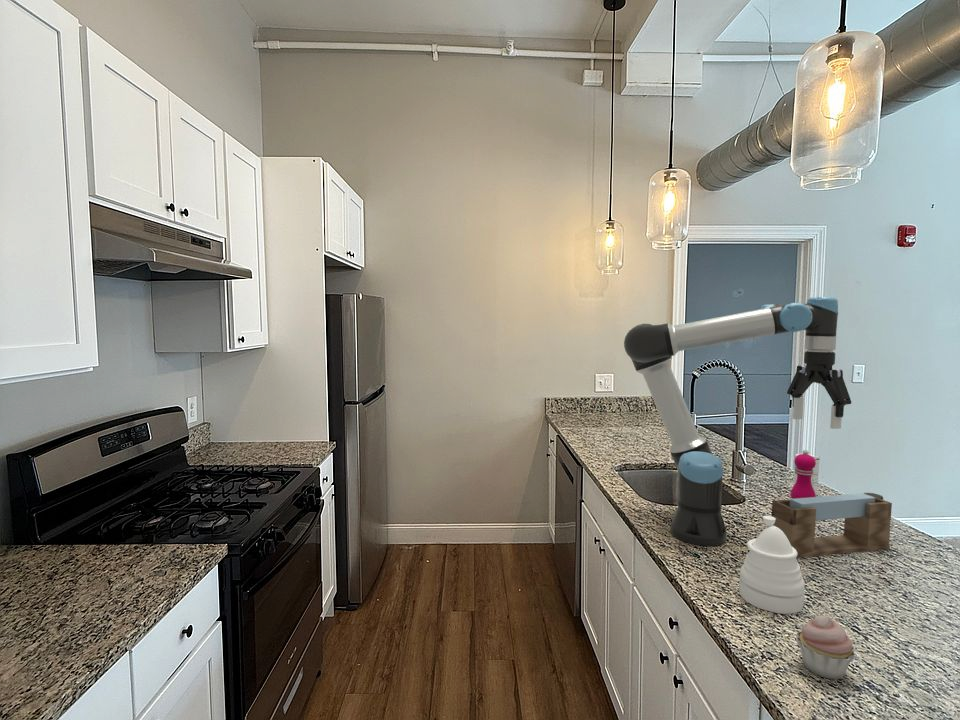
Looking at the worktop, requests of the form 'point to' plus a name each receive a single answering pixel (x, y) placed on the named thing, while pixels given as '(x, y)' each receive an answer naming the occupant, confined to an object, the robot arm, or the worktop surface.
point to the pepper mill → (803, 476)
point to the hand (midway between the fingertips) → (815, 423)
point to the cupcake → (825, 647)
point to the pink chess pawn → (814, 477)
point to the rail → (835, 505)
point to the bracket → (856, 538)
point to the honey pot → (772, 572)
